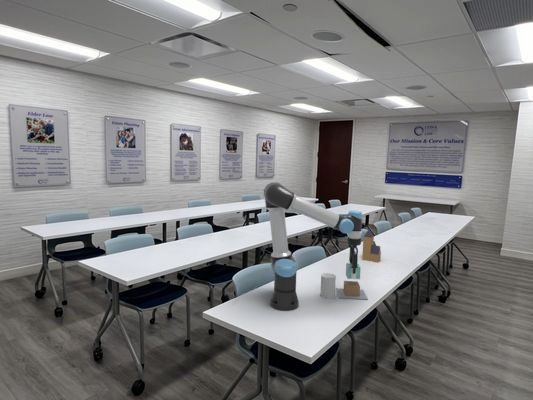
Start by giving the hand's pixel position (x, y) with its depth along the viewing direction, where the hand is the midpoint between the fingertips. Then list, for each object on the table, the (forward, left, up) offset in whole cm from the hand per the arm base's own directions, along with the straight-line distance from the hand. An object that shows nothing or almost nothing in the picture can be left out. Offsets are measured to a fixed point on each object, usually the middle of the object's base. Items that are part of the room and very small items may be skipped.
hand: (352, 276), depth 197 cm
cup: (-14, -4, -11) cm, 18 cm away
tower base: (0, 0, -11) cm, 11 cm away
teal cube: (0, 0, 0) cm, 0 cm away
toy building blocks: (+29, +79, -11) cm, 85 cm away
